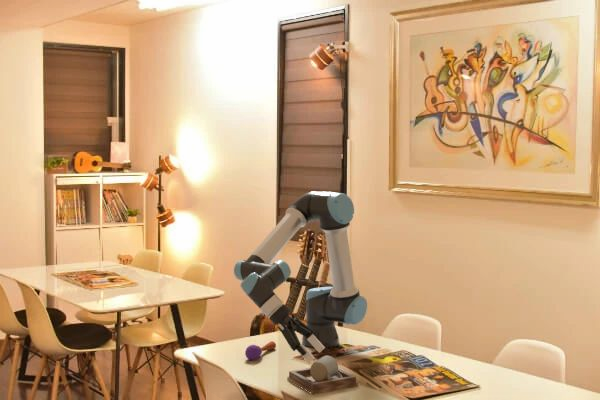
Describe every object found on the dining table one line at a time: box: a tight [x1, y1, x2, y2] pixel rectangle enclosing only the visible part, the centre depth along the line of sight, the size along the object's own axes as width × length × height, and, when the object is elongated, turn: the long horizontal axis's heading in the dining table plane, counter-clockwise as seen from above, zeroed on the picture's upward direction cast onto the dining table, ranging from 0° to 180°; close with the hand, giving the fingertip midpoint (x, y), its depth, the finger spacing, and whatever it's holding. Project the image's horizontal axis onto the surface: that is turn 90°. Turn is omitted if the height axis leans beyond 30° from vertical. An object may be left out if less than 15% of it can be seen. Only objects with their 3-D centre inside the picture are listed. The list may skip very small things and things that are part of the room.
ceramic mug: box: [309, 355, 342, 382], centre depth 287 cm, size 11×8×8 cm
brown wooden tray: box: [286, 367, 359, 395], centre depth 288 cm, size 18×18×3 cm
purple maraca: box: [244, 340, 277, 362], centre depth 324 cm, size 6×6×20 cm
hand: (317, 355), depth 288 cm, fingers open, 13 cm apart
